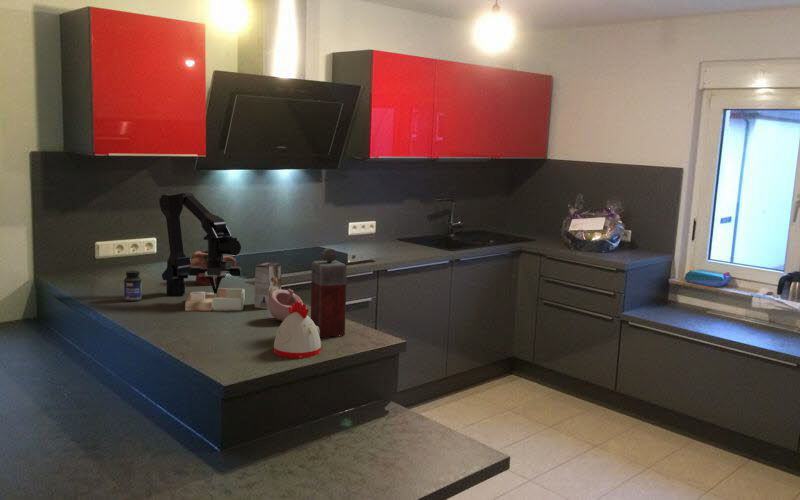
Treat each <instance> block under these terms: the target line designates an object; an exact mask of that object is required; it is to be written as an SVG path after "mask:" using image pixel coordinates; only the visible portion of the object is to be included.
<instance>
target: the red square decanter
mask: <svg viewBox="0 0 800 500" xmlns="http://www.w3.org/2000/svg"><path fill="white" fill-rule="evenodd" d="M321 256H322V259H323V260H315V261H312V262H311V279H310V281H311V283H310V284H311V286H310V288H311V289H310V318H311V320H312V321H313V322H314V324H315V325H316V326H318V327H319V330H320V333H319V337H327V338H331V337H330V336H338V337H340V336H339V335H345V336H346V313H347V311H346V310H347V309H346V308H347V306H346V305H347V276H348V275H347V273H348V272H347V271H348V268H347V264H345V263H342V262H341V261H338V260H336V259H337V257H338V255H337V251H336V250H335V249H333V248H331V247H327V248H325V249H323V250H322V254H321Z"/></svg>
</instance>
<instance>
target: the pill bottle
mask: <svg viewBox="0 0 800 500" xmlns="http://www.w3.org/2000/svg"><path fill="white" fill-rule="evenodd" d="M125 276H126V277H125V278H124V279H123V299H124V302H127V301H136V302H140V301H141V300H142V296H143V295H142V278H141V277H140V270H126V271H125ZM139 300H140V301H139Z"/></svg>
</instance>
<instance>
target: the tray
mask: <svg viewBox="0 0 800 500" xmlns="http://www.w3.org/2000/svg"><path fill="white" fill-rule="evenodd" d="M219 289H220V288H218V290H217V293H216V294H215V298H213V307H212V311H217V312H218V311H219V312H220V311H223V312H224V311H243V309H244V304H245V296H246V295H245V294H246V293H245V289H246V288H226V298H219Z"/></svg>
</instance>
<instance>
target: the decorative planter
mask: <svg viewBox="0 0 800 500" xmlns="http://www.w3.org/2000/svg"><path fill="white" fill-rule="evenodd" d="M207 262H208V249H207V250H198V251H195V252H193V253H192V255H191V258H190V264H191V266H201V268H207ZM223 262H226V263H227V262H231V263H232V266H237V265H236V264H237V261H236V258H235V257H233V256H232V255H225V254H223ZM226 275H228V273H226ZM214 278H215V286H216V281H217V275H214ZM195 282H196V284H198V285H199V286H200V285H201V286H212V285H211V283H210V281H209V279H208V278H205V273H200V274H199V275H198V276H195Z"/></svg>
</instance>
